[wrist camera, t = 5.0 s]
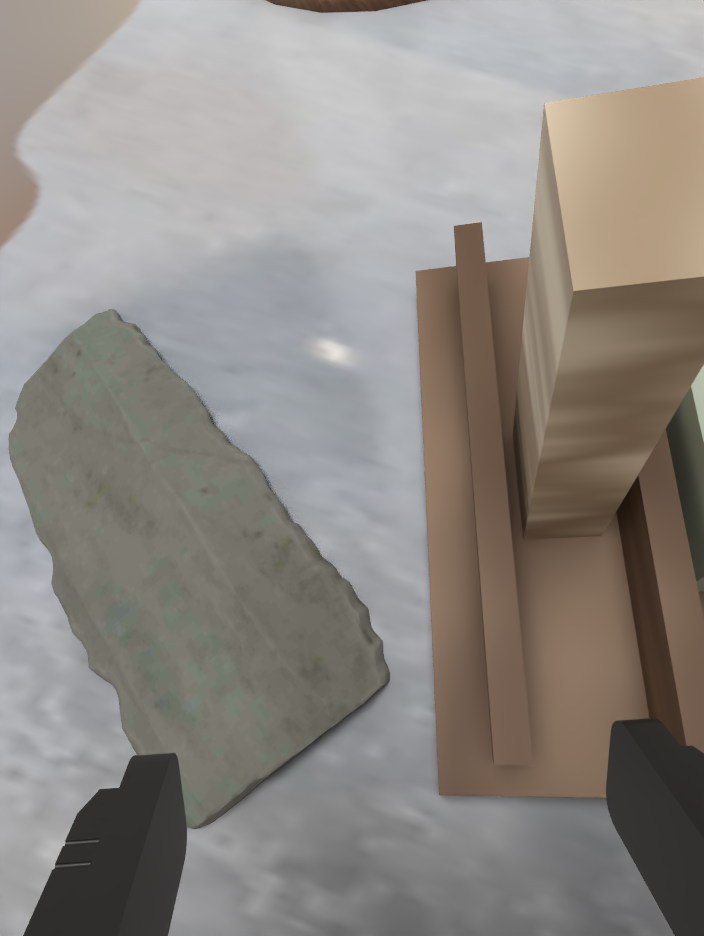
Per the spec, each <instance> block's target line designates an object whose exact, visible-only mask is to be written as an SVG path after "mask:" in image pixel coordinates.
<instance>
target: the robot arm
mask: <svg viewBox="0 0 704 936" xmlns="http://www.w3.org/2000/svg"><path fill="white" fill-rule="evenodd" d="M606 798H607V805H608V809H609V813H610V816H611V819H612V822H613V824H614V826H615V828H616V830H617V832H618V834H619V835H620V837H621V839H622V841H623V843H624V844H625V846H626V848H627V850H628V852H629V854H630V855H631V857H632V859H633V861H634V863H635V864H636V866H637V868H638V870H639V872H640V873H641V875H642V877H643V879H644V881H645V882H646V884H647V886H648V888H649V890H650V891H651V893H652V895H653V897H654V899H655V901H656V902H657V904H658V906H659V908H660V910H661V911H662V913H663V915H664V917H665V919H666V920H667V922H668V924H669V926H670V928H671V929H672V931H673V933H674V935H675V936H704V753H702V752H701V751H700V750H698V749H697V748H695V747H694V746H692V745H690V746H680V744H679V743H678V742H677V741H676V739H675V738H674V737H673V736H672V734H671V733H670V732H669V731H668V729H667V728H666V727H665V726H664V724H663V723H662V722H661V721H660V720H659V719H656V718H647V719H633V720H618V721H615V722H614V723H613V724H612V727H611V734H610V746H609V757H608V769H607V781H606ZM186 843H187V823H186V814H185V807H184V799H183V792H182V784H181V776H180V769H179V762H178V757H177V755H176V753H164V754H150V755H135V756H133V757H132V758H131V759H130V761H129V764H128V766H127V769H126V772H125V774H124V777H123V779H122V782H121V785H120V787H119V788H111V789H100V790H99V791H98V792H97V793H96V794H95V795H94V796H93V797H92V799H91V800H90V801H89V802H88V803H87V804H86V805H85V806H84V807H83V808H82V809H81V810H80V811H79V813H78V814H77V816H76V818H75V820H74V823H73V825H72V827H71V829H70V832H69V834H68V836H67V838H66V843H65V846H63V847H62V850H61V852H60V854H59V856H58V859H57V861H56V863H55V869H54V870H52V872H51V874H50V877H49V879H48V881H47V883H46V886H45V888H44V890H43V892H42V895H41V897H40V899H39V901H38V904H37V906H36V908H35V910H34V913H33V915H32V917H31V919H30V922H29V924H28V926H27V928H26V931H25V933H24V935H23V936H168V932H169V928H170V923H171V919H172V914H173V910H174V905H175V901H176V897H177V892H178V888H179V883H180V879H181V874H182V870H183V865H184V860H185V854H186Z"/></svg>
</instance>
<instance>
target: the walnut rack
mask: <svg viewBox="0 0 704 936" xmlns="http://www.w3.org/2000/svg"><path fill="white" fill-rule="evenodd" d="M454 236H455V252H456V266H454V267H445V268H437V269H429V270H421V271H416V288H417V311H418V333H419V355H420V377H421V399H422V421H423V444H424V466H425V488H426V510H427V532H428V554H429V576H430V599H431V621H432V643H433V665H434V687H435V709H436V732H437V754H438V776H439V795H468V796H529V797H590V798H606V781H607V769H608V757H609V746H610V734H611V727H612V724H613V723H614V722H615V721H618V720H633V719H647V718H656V719H659V720H660V721H661V722H662V723H663V724H664V726H665V727H666V728H667V729H668V731H669V732H670V733H671V734H672V736H673V737H674V738H675V739H676V741H677V742H678V743H679V744H680V746H690V745H692V746H694V747H695V748H697V749H698V750H700V751H701V752H702V753H704V591H703V592H698V587H697V582H696V577H695V572H694V567H693V562H692V557H691V552H690V547H689V542H688V537H687V532H686V527H685V523H684V518H683V513H682V508H681V503H680V498H679V493H678V488H677V483H676V478H675V473H674V468H673V463H672V458H671V453H670V448H669V443H668V438H667V433H666V429H665V430H664V432H663V434H662V435H661V437H660V439H659V441H658V442H657V444H656V446H655V447H654V449H653V451H652V452H651V454H650V456H649V457H648V459H647V461H646V462H645V464H644V466H643V467H642V469H641V471H640V472H639V474H638V476H637V477H636V479H635V481H634V483H633V484H632V486H631V488H630V489H629V491H628V493H627V494H626V496H625V498H624V499H623V501H622V503H621V504H620V506H619V508H618V509H617V511H616V513H615V514H614V516H613V518H612V519H611V521H610V523H609V525H608V526H607V528H606V530H605V531H604V533H603V535H602V536H592V537H572V538H552V539H531V540H523V533H522V523H521V513H520V503H519V493H518V484H517V474H516V464H515V454H514V445H513V426H514V415H515V405H516V394H517V384H518V373H519V363H520V352H521V342H522V331H523V321H524V310H525V300H526V289H527V279H528V268H529V258H530V257H528V258H520V259H511V260H503V261H495V262H487V263H485V252H484V242H483V231H482V222H480V223H473V224H465V225H458V226H454Z"/></svg>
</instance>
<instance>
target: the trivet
mask: <svg viewBox="0 0 704 936" xmlns="http://www.w3.org/2000/svg"><path fill="white" fill-rule="evenodd" d="M267 1H269V2H271V3H273V4H276V5H282V6H287V7H293V8H298V9H304V10H310V11H315V12H321V13H323V12H358V11H378V10H383V9H387V8H392V7H397V6H402V5H407V4H412V3H416V2H421V1H426V0H267Z"/></svg>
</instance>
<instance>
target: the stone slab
mask: <svg viewBox="0 0 704 936" xmlns="http://www.w3.org/2000/svg"><path fill="white" fill-rule="evenodd" d="M15 409H16V411H17V420H16V423H15V425H14V427H13V429H12V431H11V432H10V433H9V454H10V460H11V463H12V466H13V468H14V470H15V473H16V475H17V477H18V479H19V482H20V484H21V488H22V491H23V493H24V496H25V499H26V502H27V504H28V507H29V510H30V514H31V517H32V520H33V524H34V528H35V531H36V533H37V535H38V537H39V539H40V541H41V542H42V543H43V544H44V545H45V546H46V548H47V549H48V550H49V552H50V554H51V556H52V560H53V576H52V586H53V590H54V593H55V594H56V596H57V597H58V599H59V601H60V603H61V605H62V607H63V609H64V611H65V613H66V615H67V617H68V620H69V624H70V627H71V629H72V632H73V634H74V635H75V636H76V637H77V638H78V639H79V640H80V641H81V642H82V644H83V645H84V647H85V649H86V651H87V653H88V662H89V668H90V669H91V670H92V671H93V672H95V673H96V674H97V675H98V676H100V677H101V678H103V679H104V680H106V681H107V682H109V683H110V684H112V685H113V687H114V688H115V690H116V692H117V694H118V697H119V705H120V714H121V721H122V729H123V731H124V732H125V734H126V735H127V737H128V739H129V741H130V743H131V745H132V747H133V749H134V750H135V752H136V753H137V755H150V754H164V753H176V755H177V757H178V762H179V769H180V776H181V784H182V792H183V799H184V807H185V814H186V823H187V827H188V828H192V829H196V828H200V827H202V826H205V825H208V824H210V823H212V822H213V821H215V820H216V819H217V818H218V817H220V816H221V815H223V814H224V813H225V812H226V811H228V810H229V809H230V808H232V807H233V806H234V805H235V804H237V803H238V802H239V801H241V800H242V799H243V798H244V797H245V796H247V795H248V794H249V793H250V792H251V791H252V790H253V789H254V788H255V787H257V786H258V785H259V784H260V783H261V782H262V781H264V780H265V779H266V778H267V777H268V776H269V775H271V774H272V773H273V772H274V771H276V770H277V769H278V768H279V767H281V766H282V765H283V764H285V763H286V762H287V761H288V760H290V759H291V758H292V757H294V756H295V755H297V754H298V753H299V752H301V751H302V750H303V749H304V748H306V747H307V746H308V745H310V744H311V743H312V742H313V741H315V740H316V739H317V738H318V737H320V736H321V735H322V734H323V733H325V732H326V731H327V730H329V729H330V728H332V727H333V726H334V725H336V724H337V723H339V722H340V721H341V720H343V719H344V718H345V717H346V716H348V715H349V714H350V713H352V712H353V711H354V710H356V709H357V708H358V707H360V706H361V705H362V704H364V703H365V702H366V701H367V700H368V699H369V698H370V697H371V696H372V695H373V694H374V693H376V692H377V691H378V690H380V689H381V688H382V687H384V686H385V685H386V684H387V683H388V682H389V681H390V672H389V669H388V666H387V664H386V662H385V659H384V654H383V641H382V640H381V638H380V637H379V636H378V635H377V634H376V633H375V632H374V631H373V629H372V627H371V622H370V616H369V610H368V608H367V607H366V606H365V605H364V604H363V603H362V602H361V601H360V600H359V599H358V597H357V596H356V594H355V592H354V590H353V588H352V586H351V584H350V583H349V581H347V580H345V579H344V578H342V577H341V576H340V575H339V573H338V572H337V570H336V568H335V567H334V566H333V565H332V564H330V563H329V562H328V561H326V560H325V559H324V558H323V557H322V556H321V555H320V553H319V551H318V550H317V548H316V546H315V545H314V543H313V542H312V541H311V539H310V538H308V537H307V536H306V535H305V533H304V531H303V529H302V528H301V527H300V525H299V524H297V523H294V522H293V521H292V520H291V519H290V517H289V515H288V514H287V512H286V510H285V508H284V506H283V505H282V504H281V503H280V501H279V500H278V499H277V498H276V496H275V495H274V494H273V492H272V491H271V489H270V488H269V486H268V484H267V481H266V479H265V477H264V475H263V473H262V471H261V470H260V468H259V467H258V466H257V465H256V463H255V461H254V459H253V458H252V457H251V456H250V455H247V454H245V453H243V452H242V451H240V449H239V448H238V447H236V446H233V445H231V444H230V443H229V442H228V441H227V439H226V436H225V435H224V434H223V432H222V431H221V430H220V429H219V428H217V427H216V426H215V425H214V424H213V423H212V422H211V419H210V416H209V413H208V411H207V409H206V408H205V407H204V405H203V404H202V403H201V401H200V400H199V398H198V397H197V395H196V394H195V392H194V391H193V390H192V388H191V387H190V386H189V385H188V384H187V382H186V381H184V380H182V379H181V378H180V377H179V376H178V375H177V374H176V373H175V372H173V371H172V370H171V369H170V368H169V366H168V365H167V364H166V363H165V362H163V361H162V360H161V358H160V357H159V355H158V353H157V350H156V349H155V348H153V347H151V346H150V345H149V343H148V342H147V340H146V338H145V336H144V335H143V333H142V332H141V331H140V330H139V329H138V327H137V326H136V324H131V323H126V322H124V321H122V320H121V319H120V317H119V315H118V313H117V311H116V310H114V309H110V310H108V311H105V312H103V313H99V314H96V315H94V316H93V317H92V318H91V319H89V320H88V321H87V322H86V323H85V324H84V325H82V326H81V327H79V328H77V329H76V330H74V331H73V332H72V333H71V334H70V335H68V336H67V337H66V338H65V339H64V340H63V342H62V343H61V344H60V345H59V346H58V347H57V349H56V350H55V351H54V352H53V353H52V355H51V356H50V357H49V358H48V360H47V361H46V362H45V363H44V364H43V365H42V366H41V367H40V368H39V369H38V370H37V371H36V373H35V374H34V375H33V376H32V377H31V378H30V379H29V380H28V381H27V382H26V383H25V384H24V386H23V389H22V391H21V393H20V396H19V399H18V401H17V404H16V408H15Z"/></svg>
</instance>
